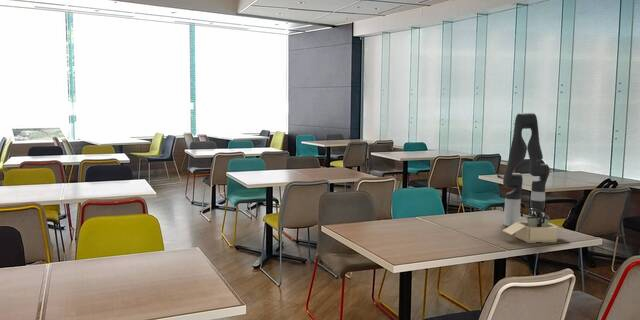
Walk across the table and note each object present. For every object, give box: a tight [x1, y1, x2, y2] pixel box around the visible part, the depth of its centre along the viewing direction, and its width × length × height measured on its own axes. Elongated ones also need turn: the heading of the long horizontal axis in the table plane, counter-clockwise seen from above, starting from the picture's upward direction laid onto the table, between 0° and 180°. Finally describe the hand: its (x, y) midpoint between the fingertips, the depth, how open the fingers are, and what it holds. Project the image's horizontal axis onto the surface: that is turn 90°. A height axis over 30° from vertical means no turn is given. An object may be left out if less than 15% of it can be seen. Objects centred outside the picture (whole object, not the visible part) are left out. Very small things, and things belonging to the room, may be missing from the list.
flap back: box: [548, 221, 571, 235], centre depth 295 cm, size 10×1×9 cm
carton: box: [514, 221, 559, 244], centre depth 293 cm, size 15×17×8 cm
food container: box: [525, 213, 550, 227], centre depth 293 cm, size 12×6×10 cm, turn 85°
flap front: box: [502, 222, 525, 236], centre depth 291 cm, size 10×1×9 cm
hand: (536, 228), depth 293 cm, fingers closed on food container, 5 cm apart
